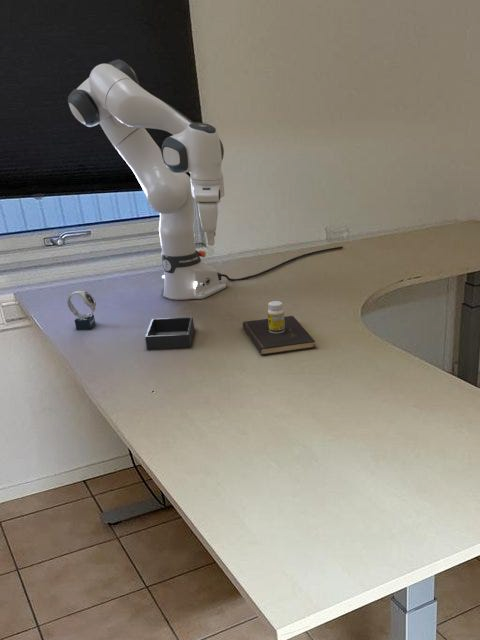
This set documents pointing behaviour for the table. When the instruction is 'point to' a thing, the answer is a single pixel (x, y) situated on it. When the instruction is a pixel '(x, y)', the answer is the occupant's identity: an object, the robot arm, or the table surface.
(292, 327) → the hardcover book
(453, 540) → the table surface
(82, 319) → the watch
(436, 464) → the table surface
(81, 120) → the robot arm
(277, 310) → the supplement bottle
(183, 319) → the tray
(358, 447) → the table surface
